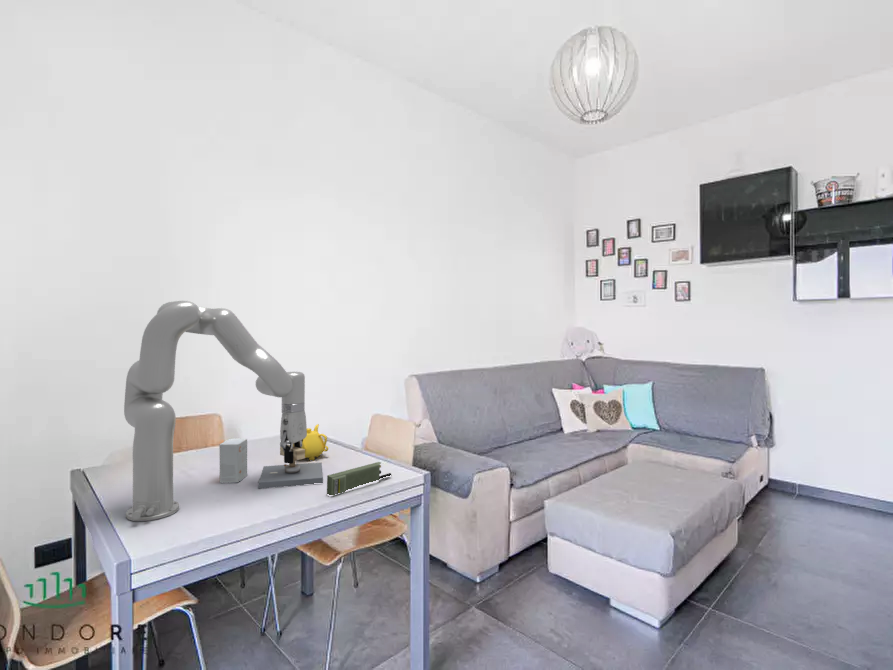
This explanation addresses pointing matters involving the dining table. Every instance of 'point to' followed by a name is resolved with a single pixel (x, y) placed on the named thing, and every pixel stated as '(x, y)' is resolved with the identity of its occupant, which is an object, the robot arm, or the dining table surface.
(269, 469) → the plate
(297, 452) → the t key
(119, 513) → the dining table surface
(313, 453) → the teapot
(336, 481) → the handheld radio
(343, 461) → the dining table surface
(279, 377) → the robot arm
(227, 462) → the small box
